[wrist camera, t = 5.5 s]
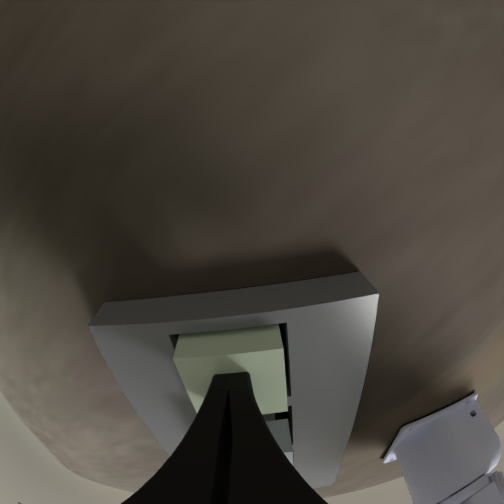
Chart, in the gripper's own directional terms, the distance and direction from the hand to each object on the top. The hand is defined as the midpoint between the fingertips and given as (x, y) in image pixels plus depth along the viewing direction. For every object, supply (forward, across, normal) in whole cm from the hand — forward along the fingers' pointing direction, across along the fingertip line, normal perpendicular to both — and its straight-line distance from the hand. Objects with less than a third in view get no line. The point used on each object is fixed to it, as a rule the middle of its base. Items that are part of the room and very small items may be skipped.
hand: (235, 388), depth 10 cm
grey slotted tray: (+3, 0, +8) cm, 9 cm away
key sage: (+3, 0, 0) cm, 3 cm away
